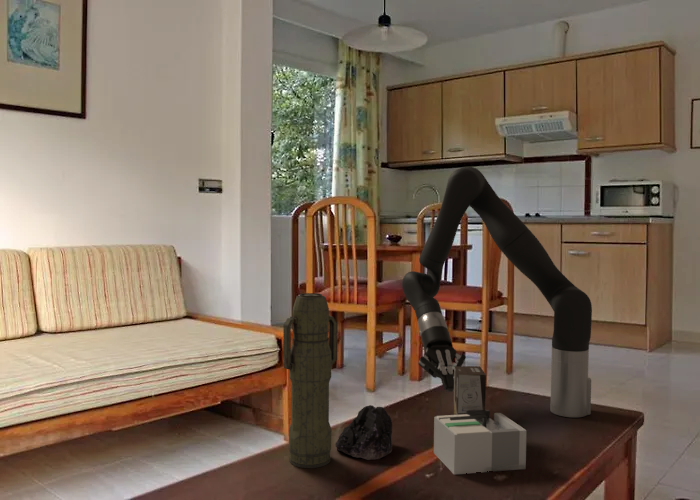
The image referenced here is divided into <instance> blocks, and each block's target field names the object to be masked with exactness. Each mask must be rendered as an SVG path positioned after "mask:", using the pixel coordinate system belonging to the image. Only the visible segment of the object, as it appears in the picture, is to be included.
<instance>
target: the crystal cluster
mask: <svg viewBox="0 0 700 500" xmlns="http://www.w3.org/2000/svg"><path fill="white" fill-rule="evenodd" d="M392 434H393V422H392V418H391V416H390V415H389V414H388V412H387V411H386V410H385V408H384V407H383V406H374V405H371V404H370V405H366V406H364V407H362V408H361V409H360V410H359V411H358V413H357V416H356V417H355V418H353V420H352V422H350V423H349V424H348V426H346V427H344V429H342V431H341V433H340V435H339V436H338V439H337V441H336V442H335V447H336V450H337V451H339V452H342V453H344V454H347V455H349V456H352V457H353V458H357V459H358V458H362V459H364V460H366V461H367V460H368V461H370V460H380V459H381V458H384V457H386V456H388V455H390V454H391V453H392V451H393V440H392V439H393V437H392V436H393V435H392Z"/></svg>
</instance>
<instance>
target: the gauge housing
mask: <svg viewBox="0 0 700 500" xmlns="http://www.w3.org/2000/svg"><path fill="white" fill-rule="evenodd" d="M461 416H470V415H468V414H462V415H454V414H450V415H449V414H447V415H436V416H434V417H433V418H434V419H433V421H434V422H433V428H434V429H433V454H434V455H435V457H437V458H438V459H439V460H440V461H441V462H442V464H443V465H445V466H446V468H447V469H448V470H449V471H450V472H451V473H452V474H453V475H466V473H467V474H477V473H476V472H481V473H490V472H489V471H493V472H502V471H503V472H504V471H515V470H517V471H518V470H526V467H527V465H526V461H527V430H526V428H523V427H522V426H521V425H520V424H517V423H516V422H515V421H513V420H512V419H510V418H509V417H508V416H506V415H505V414H503V413H502V412H495V413H494V414H493V421H495V422H496V423H497V424H499V425H500V426H502V427H503V428H504V429H500V430H488V429H487V428H486V427H484V426H483V425H482V424H480V423H479V422H478V421H476V420H475V419H466V420H450V417H461ZM487 471H488V472H487Z"/></svg>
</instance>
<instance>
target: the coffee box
mask: <svg viewBox="0 0 700 500" xmlns="http://www.w3.org/2000/svg"><path fill="white" fill-rule="evenodd" d="M453 369H454V390H453V415H462V414H466V411H475V410H486V397H487V395H486V393H487V391H486V390H487V387H486V386H487V374H486V372H485V371H484V370H483V369H482V366H477V365H476V366H474V365H469V366H468V365H467V366H466V365H465V366H463V365H462V366H461V367H460V366H456V365H455V366H454V367H453Z"/></svg>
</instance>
